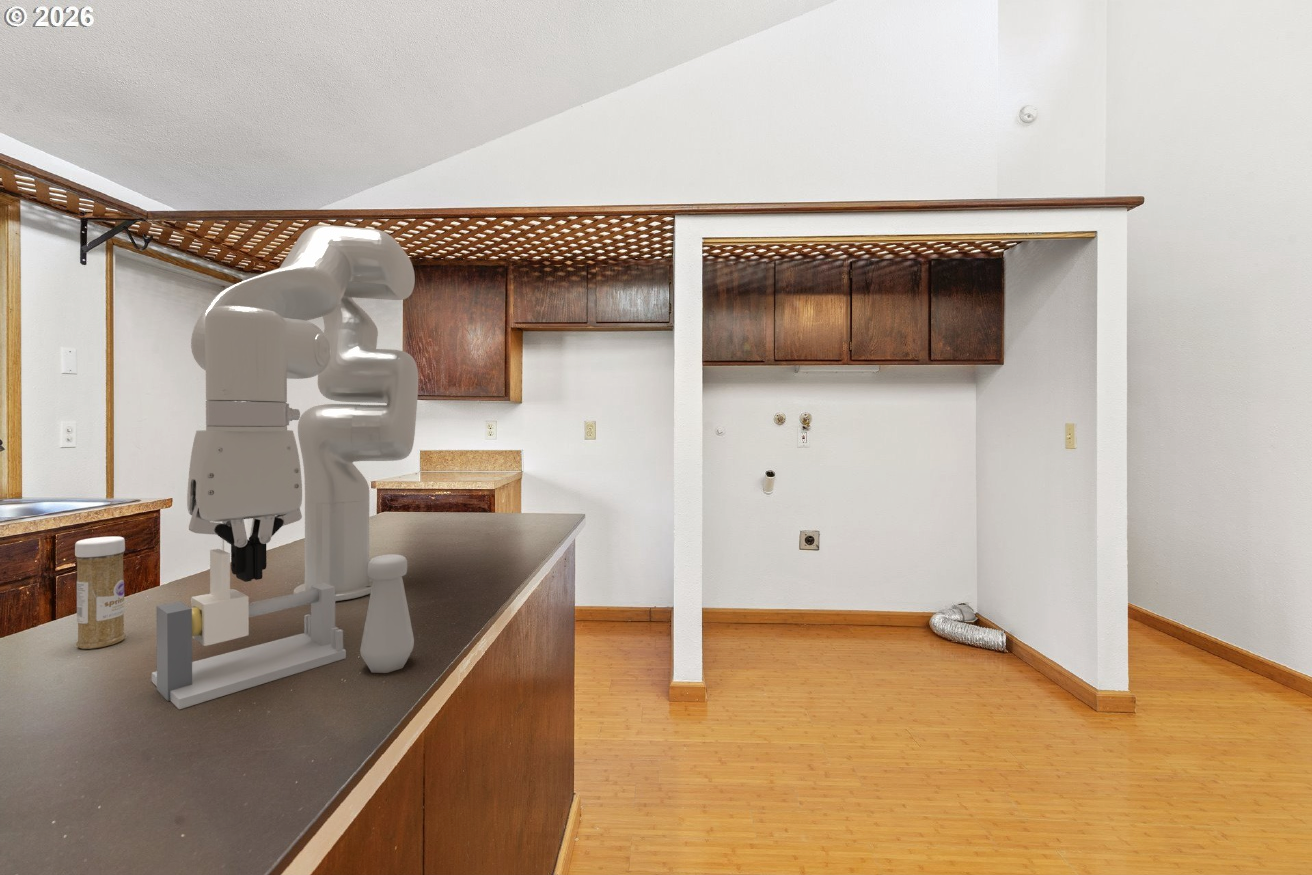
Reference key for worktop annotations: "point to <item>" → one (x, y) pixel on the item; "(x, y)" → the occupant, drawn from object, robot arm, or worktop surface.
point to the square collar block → (221, 605)
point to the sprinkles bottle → (100, 591)
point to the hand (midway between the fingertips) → (249, 578)
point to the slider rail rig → (247, 665)
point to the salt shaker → (387, 616)
